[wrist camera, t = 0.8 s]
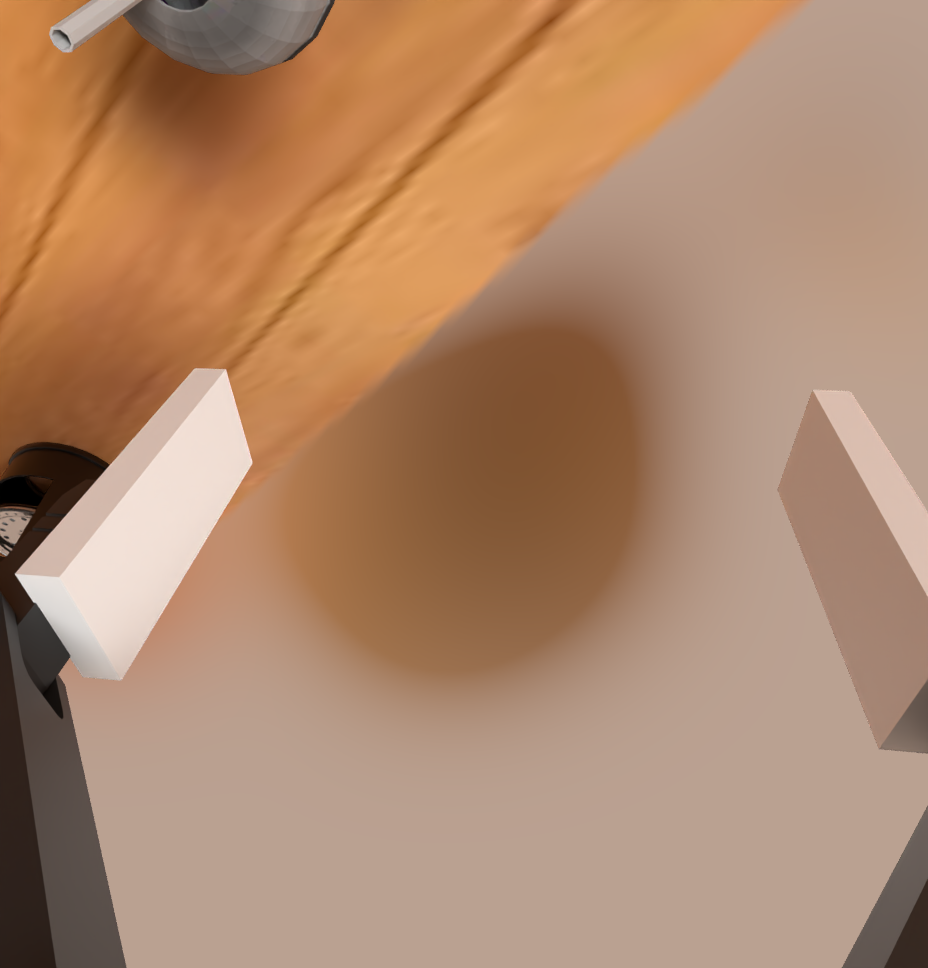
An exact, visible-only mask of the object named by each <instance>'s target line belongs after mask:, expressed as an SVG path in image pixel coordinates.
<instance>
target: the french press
mask: <svg viewBox="0 0 928 968" xmlns="http://www.w3.org/2000/svg"><path fill="white" fill-rule="evenodd" d="M109 466H110V465H108V464H107V463H106V462H104V461H102V460H101V459H99V458H98V457H96V456H94V455H92V454H89V453H87V452H85V451H83V450H80V449H77V448H74V447H71V446H66V445H62V444H56V443H34V444H28V445H26V446H23V447H21V448H19V449H18V450H17V451H16V452H14V453H13V455H12V457H11V458H10V460H9V466H8V468H7V470H6V471H5V473H4V474H3V476H2V477H1V479H0V553H2V554H4V555H5V556H7V555H8V554H9V553H10V552H11V550H12V549H13V548H14V547H15V546H16V545H17V544H18V543H19V542H20V541H21V540H22V538H23V537H24V536H25V535H26V534H27V533H28V532H29V531H31V532H32V530H33V526H34V525H35V524H36V523H37V522H38V521H39V520H40V519H41V518H42V517H45V516H46V512H47V511H48V510H49V509H50V508H51V507H52V506H53V505H54V503H55V502H56V501H57V500H58V499H59V498H60V497H61V496H62V495H63V494H64V493H66V492H68V491H69V490H71V489H72V488H74V487H75V486H77V485H78V484H80V483H81V482H83V481H85V480H86V479H87V480H97V479H98V478H99V477H100V476H101V475H102V474H103V473H104V471H105V470H106V469H107V468H108V467H109ZM27 476H33V477H41V478H46V479H51V480H54V481H53V482H52V484H51V486H50V487H49V489H48V491H47V492H46V494H45V495H44V494H42V493H41V492H39V491H38V490H37V489H36V488H35V487H34V486H33V485H32V484H31V482H30V481H29V479H28V477H27ZM4 558H5V557H2V556H0V562H1V561H2V560H3V559H4Z"/></svg>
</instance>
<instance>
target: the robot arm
mask: <svg viewBox="0 0 928 968" xmlns="http://www.w3.org/2000/svg"><path fill="white" fill-rule="evenodd" d="M252 463H253V462H252V459H251V455H250V452H249V448H248V445H247V441H246V438H245V435H244V431H243V428H242V424H241V421H240V417H239V414H238V410H237V407H236V403H235V400H234V396H233V393H232V389H231V386H230V382H229V379H228V375H227V372H226V369H204V368H195V369H194V370H193V371H192V372H191V373H190V374H189V375H188V377H187V378H186V379H185V380H184V381H183V382H182V383H181V385H180V386H179V387H178V388H177V389H176V390H175V391H174V393H173V394H172V395H171V396H170V397H169V398H168V399H167V401H166V402H165V403H164V404H163V405H162V406H161V407H160V409H159V410H158V411H157V412H156V413H155V414H154V415H153V417H152V418H151V419H150V420H149V421H148V422H147V423H146V425H145V426H144V427H143V428H142V429H141V430H140V431H139V433H138V434H137V435H136V436H135V437H134V438H133V439H132V441H131V442H130V443H129V444H128V445H127V446H126V447H125V449H124V450H123V451H122V452H121V453H120V454H119V455H118V457H117V458H116V459H115V460H114V461H113V462H112V463H111V465H110V466H109V467H108V468H107V469H106V470H105V471H104V473H103V474H102V475H101V476H100V477H99V478H98V479H97V480H87V479H86V480H85V481H83V482H81V483H80V484H78V485H77V486H75V487H74V488H72V489H71V490H69V491H68V492H66V493H64V494H63V495H62V496H61V497H60V498H59V499H58V500H57V501H56V502H55V503H54V505H53V506H52V507H51V508H50V509H49V510H48V511H47V512H46V516H45V517H42V518H41V519H40V520H39V521H38V522H37V523H36V524H35V525H34V526H33V530H32V532H31V531H29V532H28V533H27V534H26V535H25V536H24V537H23V538H22V540H21V541H20V542H19V543H18V544H17V545H16V546H15V547H14V548H13V549H12V550H11V552H10V553H9V554H8V555H7V556H6V557H5V558H4V559H3V560H2V561H1V562H0V968H126V964H125V959H124V955H123V950H122V945H121V941H120V936H119V932H118V927H117V922H116V918H115V913H114V908H113V904H112V899H111V895H110V890H109V886H108V881H107V876H106V872H105V867H104V862H103V858H102V854H101V849H100V844H99V839H98V835H97V830H96V826H95V821H94V816H93V812H92V807H91V803H90V798H89V794H88V789H87V784H86V780H85V775H84V770H83V766H82V762H81V757H80V752H79V748H78V743H77V738H76V734H75V729H74V724H73V720H72V716H71V711H70V706H69V701H68V697H67V692H66V687H65V684H64V683H63V681H62V680H61V678H60V676H59V675H58V674H59V672H60V671H61V669H62V668H63V666H64V665H65V663H66V662H67V661H68V659H69V658H70V659H71V660H72V662H73V663H74V665H75V666H76V668H77V669H78V671H79V672H80V674H81V675H82V677H89V678H100V679H111V680H122V678H123V677H124V675H125V674H126V672H127V670H128V669H129V667H130V665H131V664H132V662H133V660H134V659H135V657H136V655H137V654H138V652H139V650H140V649H141V647H142V645H143V643H144V642H145V640H146V639H147V637H148V635H149V634H150V632H151V630H152V629H153V627H154V625H155V624H156V622H157V620H158V619H159V617H160V616H161V614H162V612H163V611H164V609H165V607H166V606H167V604H168V602H169V601H170V599H171V597H172V595H173V594H174V592H175V591H176V589H177V587H178V586H179V584H180V582H181V581H182V579H183V577H184V576H185V574H186V572H187V571H188V569H189V567H190V566H191V564H192V562H193V561H194V559H195V558H196V556H197V554H198V552H199V551H200V549H201V548H202V546H203V544H204V543H205V541H206V539H207V538H208V536H209V534H210V533H211V531H212V529H213V528H214V526H215V524H216V523H217V521H218V519H219V518H220V516H221V514H222V513H223V511H224V509H225V508H226V506H227V504H228V503H229V501H230V500H231V498H232V496H233V495H234V493H235V491H236V490H237V488H238V486H239V485H240V483H241V481H242V480H243V478H244V476H245V475H246V473H247V471H248V470H249V468H250V466H251V465H252ZM778 492H779V494H780V497H781V500H782V502H783V505H784V507H785V510H786V512H787V515H788V518H789V520H790V523H791V525H792V528H793V530H794V533H795V535H796V538H797V541H798V543H799V546H800V548H801V551H802V553H803V556H804V558H805V561H806V564H807V566H808V569H809V571H810V574H811V576H812V579H813V581H814V584H815V587H816V589H817V592H818V594H819V597H820V600H821V602H822V605H823V607H824V610H825V612H826V615H827V617H828V620H829V622H830V625H831V628H832V630H833V633H834V635H835V638H836V641H837V643H838V646H839V648H840V651H841V653H842V656H843V658H844V661H845V664H846V666H847V669H848V671H849V674H850V676H851V679H852V681H853V684H854V687H855V689H856V692H857V694H858V697H859V699H860V702H861V705H862V707H863V709H864V712H865V715H866V717H867V720H868V722H869V725H870V728H871V730H872V733H873V735H874V738H875V740H876V743H877V746H878V748H879V749H884V750H895V751H906V752H917V753H928V512H927V511H926V509H925V507H924V505H923V504H922V502H921V501H920V499H919V498H918V496H917V494H916V493H915V491H914V490H913V488H912V487H911V485H910V484H909V482H908V480H907V479H906V477H905V476H904V474H903V473H902V471H901V469H900V468H899V466H898V465H897V463H896V462H895V460H894V459H893V457H892V455H891V454H890V452H889V451H888V449H887V448H886V446H885V444H884V443H883V441H882V440H881V439H880V437H879V435H878V434H877V432H876V430H875V429H874V427H873V426H872V424H871V423H870V421H869V419H868V418H867V416H866V415H865V413H864V412H863V410H862V409H861V407H860V405H859V404H858V402H857V401H856V399H855V398H854V396H853V394H852V393H851V391H830V390H812V393H811V396H810V399H809V401H808V404H807V407H806V410H805V413H804V416H803V419H802V421H801V424H800V427H799V430H798V433H797V436H796V439H795V441H794V444H793V447H792V450H791V453H790V456H789V458H788V461H787V464H786V467H785V470H784V473H783V476H782V478H781V482H780V484H779V487H778ZM842 968H928V807H927V808H926V810H925V812H924V814H923V816H922V818H921V819H920V821H919V823H918V825H917V827H916V829H915V831H914V833H913V835H912V836H911V838H910V840H909V842H908V844H907V846H906V848H905V850H904V852H903V853H902V855H901V857H900V859H899V861H898V863H897V865H896V867H895V869H894V870H893V873H892V874H891V876H890V878H889V880H888V882H887V884H886V886H885V887H884V889H883V891H882V893H881V895H880V897H879V899H878V901H877V903H876V904H875V906H874V908H873V910H872V912H871V914H870V916H869V918H868V920H867V921H866V923H865V925H864V927H863V929H862V931H861V933H860V935H859V937H858V938H857V941H856V942H855V944H854V946H853V948H852V950H851V952H850V954H849V955H848V957H847V959H846V961H845V963H844V965H843V967H842Z"/></svg>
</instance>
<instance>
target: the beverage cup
mask: <svg viewBox="0 0 928 968" xmlns="http://www.w3.org/2000/svg"><path fill="white" fill-rule="evenodd" d="M334 1H335V0H91V1H90V2H88V3H87V4H85V5H84V6H82V7H81V8H79V9H78V10H76V11H75V12H73V13H72V14H70V15H69V16H67V17H66V18H64V19H63V20H61V21H60V22H58V23H57V24H55V25H54V26H52V27H51V30H50V34H49V35H50V38H51V40H52V42H53V44H54V45H55V46H56V47H57V48H58V49H60V50H61V51H62V52H72V51H73V50H75V49H76V48H78V47H79V46H80V45H82V44H83V43H84V42H86V41H87V40H88V39H90V38H91V37H93V36H94V35H95V34H97V33H98V32H99V31H101V30H102V29H103V28H105V27H106V26H108V25H109V24H110V23H112V22H113V21H114V20H116V19H117V18H119V17H120V16H121V15H123V16H124V17H125V18H126V19H127V21H128V22H129V23H130V24H131V25H132V26H133V27H134V28H135V30H136V31H137V32H138V33H139V34H140V35H141V36H142V37H143V38H144V39H146V40H147V41H148V42H150V43H151V44H153V45H154V46H155V47H157V48H158V49H160V50H161V51H163V52H164V53H165V54H167V55H168V56H170V57H171V58H172V59H174V60H176V61H179V62H181V63H184V64H187V65H189V66H192V67H195V68H197V69H200V70H203V71H205V72H208V73H212V74H235V75H247V74H251V73H254V72H257V71H260V70H263V69H266V68H269V67H271V66H274V65H277V64H280V63H283V62H286V61H288V60H291V59H293V58H294V57H295V56H296V55H297V54H298V53H299V52H301V51H302V50H303V49H304V48H305V47H306V46H307V45H308V44H309V43H310V42H312V41H313V40H314V39H315V38H316V37H317V36H318V34H319V32H320V30H321V28H322V26H323V24H324V22H325V20H326V18H327V16H328V14H329V12H330V10H331V8H332V6H333V4H334Z"/></svg>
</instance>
